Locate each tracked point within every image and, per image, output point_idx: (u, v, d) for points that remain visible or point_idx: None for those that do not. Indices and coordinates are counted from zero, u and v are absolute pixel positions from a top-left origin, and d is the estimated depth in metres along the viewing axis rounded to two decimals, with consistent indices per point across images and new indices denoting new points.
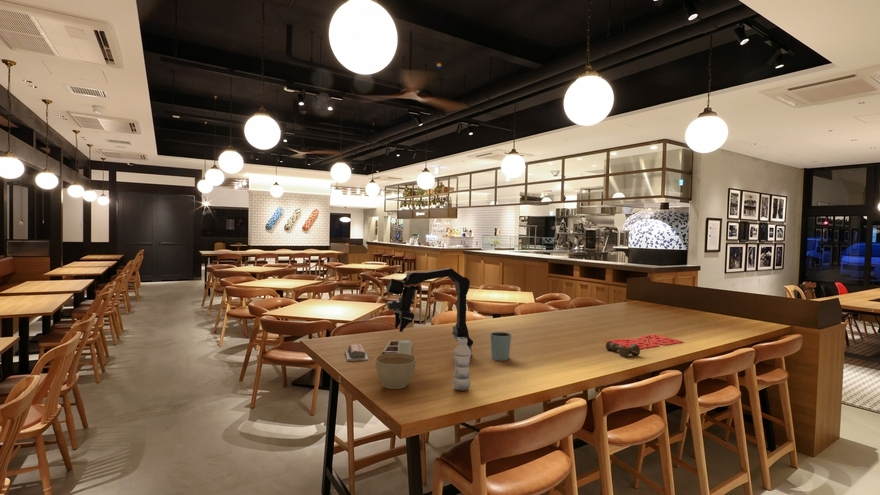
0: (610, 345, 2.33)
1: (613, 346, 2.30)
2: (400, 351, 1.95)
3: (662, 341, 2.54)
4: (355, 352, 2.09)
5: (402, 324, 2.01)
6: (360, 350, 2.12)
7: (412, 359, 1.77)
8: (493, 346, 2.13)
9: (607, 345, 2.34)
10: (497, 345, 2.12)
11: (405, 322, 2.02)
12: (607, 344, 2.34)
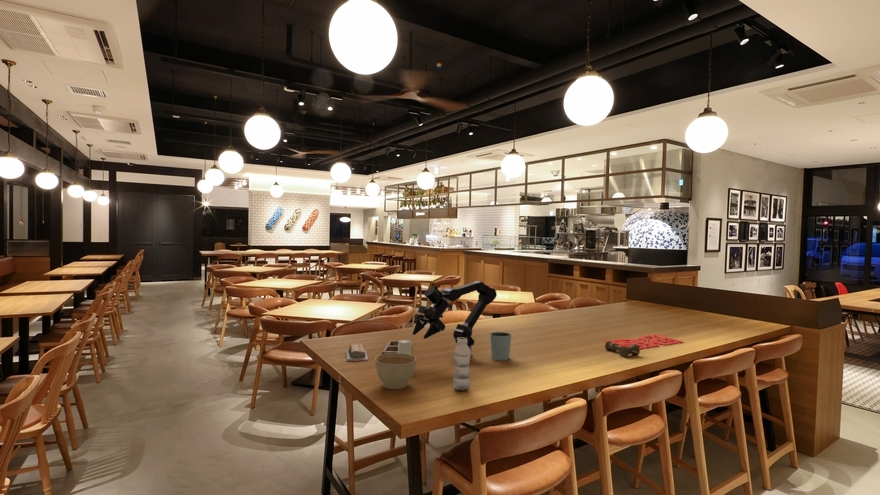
0: (609, 345, 2.33)
1: (613, 346, 2.30)
2: (400, 351, 1.95)
3: (662, 341, 2.54)
4: (355, 352, 2.09)
5: (429, 331, 1.98)
6: (360, 350, 2.12)
7: (412, 359, 1.77)
8: (493, 346, 2.13)
9: (606, 345, 2.34)
10: (497, 345, 2.12)
11: (433, 331, 1.99)
12: (606, 344, 2.34)
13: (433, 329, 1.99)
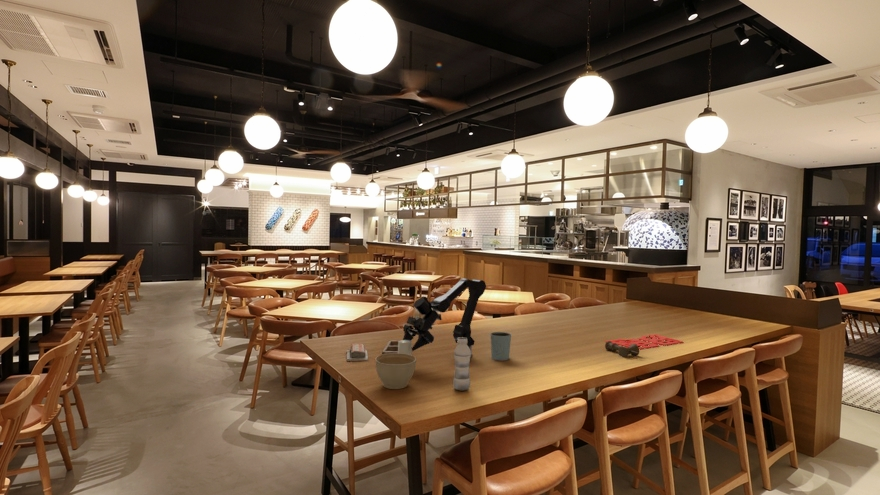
0: (609, 345, 2.33)
1: (612, 346, 2.31)
2: (400, 351, 1.95)
3: (662, 341, 2.54)
4: (355, 352, 2.09)
5: (418, 343, 1.94)
6: (360, 350, 2.11)
7: (412, 359, 1.77)
8: (493, 346, 2.13)
9: (606, 345, 2.34)
10: (497, 345, 2.12)
11: (421, 343, 1.95)
12: (606, 344, 2.34)
13: (422, 341, 1.95)
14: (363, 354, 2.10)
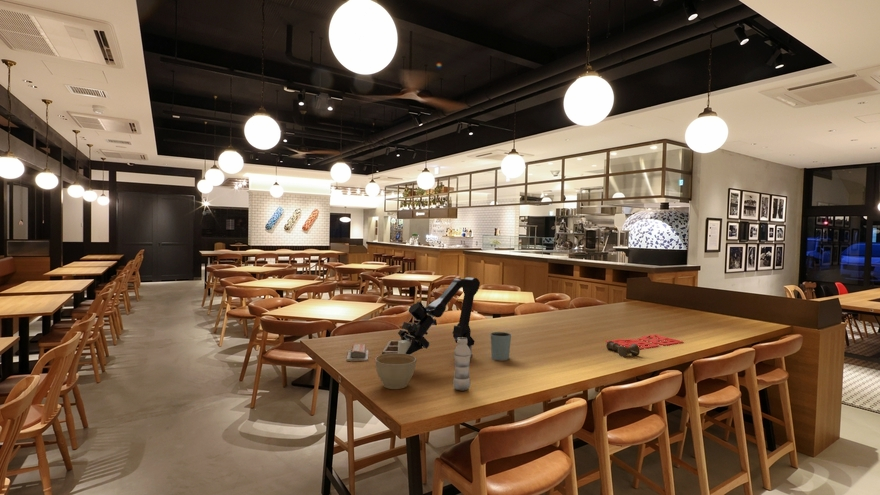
0: (610, 345, 2.34)
1: (613, 346, 2.31)
2: (400, 351, 1.95)
3: (662, 341, 2.54)
4: (355, 352, 2.09)
5: (411, 349, 1.94)
6: (360, 350, 2.11)
7: (412, 359, 1.77)
8: (493, 346, 2.13)
9: (608, 345, 2.35)
10: (497, 345, 2.12)
11: (414, 348, 1.95)
12: (608, 344, 2.35)
13: (415, 346, 1.95)
14: (363, 354, 2.10)
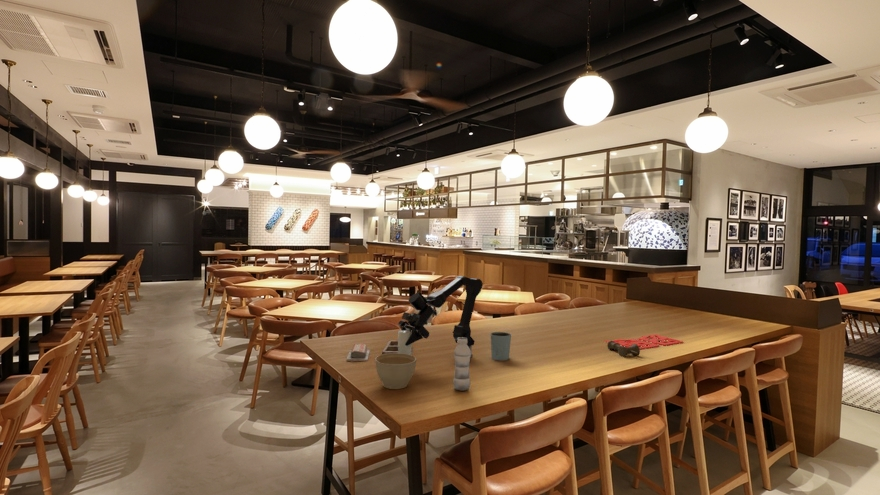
0: (611, 345, 2.34)
1: (614, 346, 2.32)
2: (400, 341, 1.94)
3: (662, 341, 2.54)
4: (355, 352, 2.09)
5: (411, 338, 1.94)
6: (360, 350, 2.11)
7: (412, 359, 1.77)
8: (493, 346, 2.13)
9: (609, 344, 2.35)
10: (497, 345, 2.12)
11: (414, 338, 1.95)
12: (609, 343, 2.35)
13: (415, 336, 1.95)
14: (363, 354, 2.10)
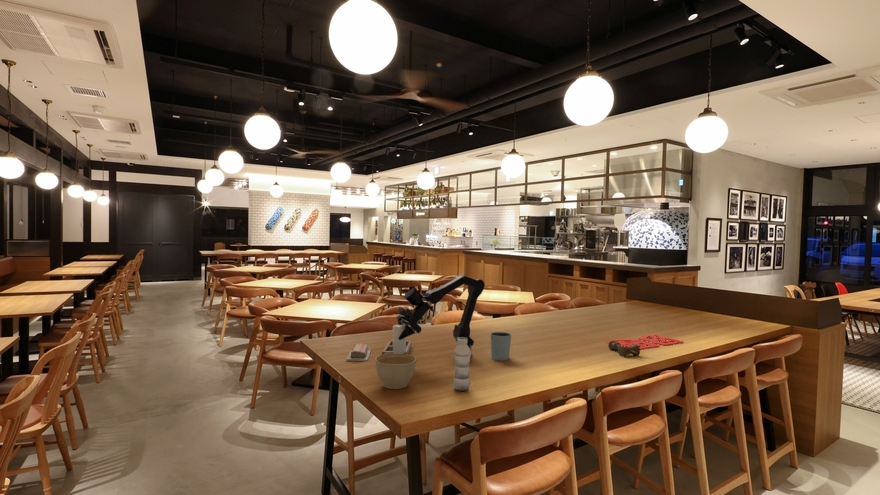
0: (612, 344, 2.34)
1: (615, 345, 2.32)
2: (394, 335, 2.00)
3: (663, 341, 2.54)
4: (355, 352, 2.09)
5: (404, 333, 1.99)
6: (361, 350, 2.11)
7: (412, 359, 1.77)
8: (493, 346, 2.13)
9: (610, 344, 2.35)
10: (497, 345, 2.12)
11: (408, 332, 1.99)
12: (610, 343, 2.36)
13: (408, 331, 2.00)
14: (363, 354, 2.10)
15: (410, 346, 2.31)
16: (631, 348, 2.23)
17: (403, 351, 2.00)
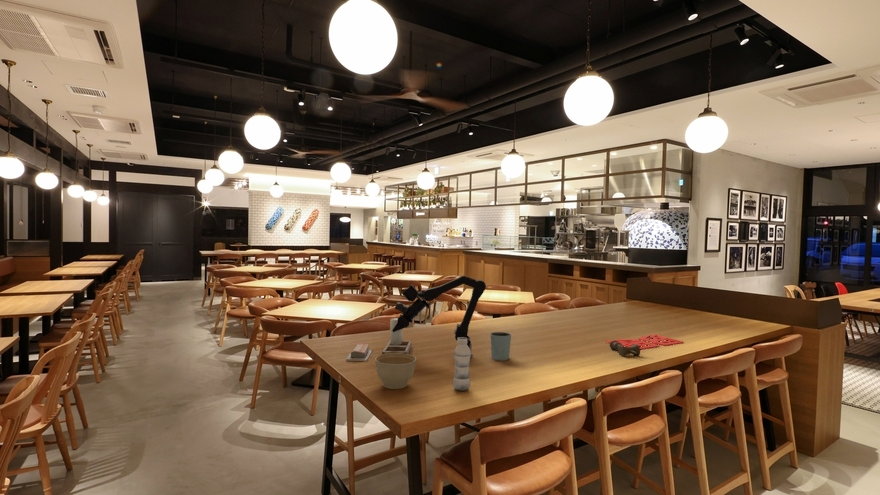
0: (613, 344, 2.35)
1: (615, 345, 2.32)
2: (390, 327, 2.18)
3: (663, 341, 2.54)
4: (355, 352, 2.09)
5: (397, 326, 2.14)
6: (361, 350, 2.11)
7: (412, 359, 1.77)
8: (493, 346, 2.13)
9: (611, 344, 2.36)
10: (497, 345, 2.12)
11: (400, 326, 2.14)
12: (611, 343, 2.36)
13: (401, 324, 2.14)
14: (363, 354, 2.09)
15: (410, 346, 2.31)
16: (631, 348, 2.24)
17: (396, 343, 2.16)
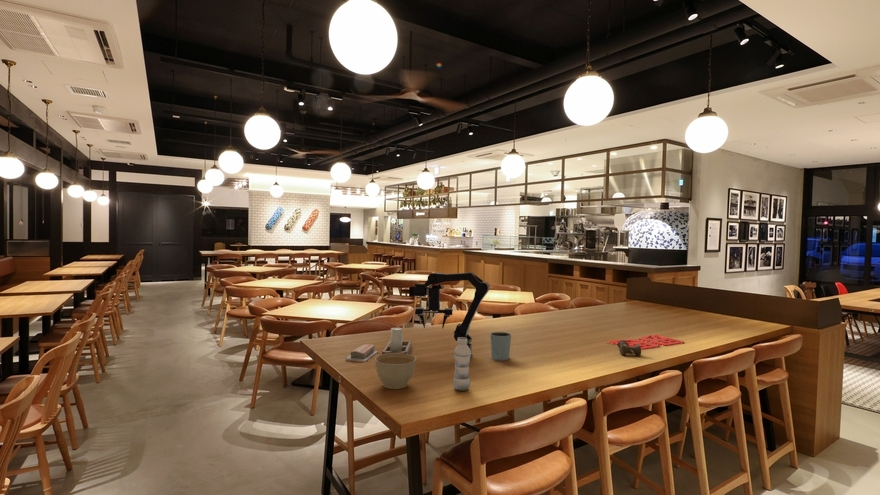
0: (620, 344, 2.36)
1: (621, 345, 2.34)
2: None
3: (663, 341, 2.53)
4: (354, 352, 2.09)
5: None
6: (361, 351, 2.10)
7: (412, 359, 1.77)
8: (493, 346, 2.13)
9: (618, 344, 2.38)
10: (497, 345, 2.12)
11: None
12: (619, 343, 2.38)
13: None
14: (362, 355, 2.08)
15: (410, 346, 2.31)
16: (632, 348, 2.24)
17: None
